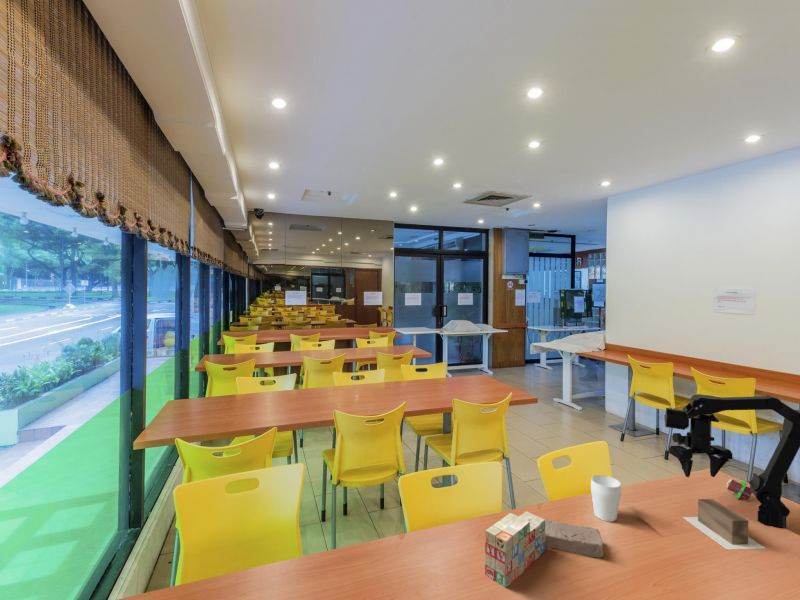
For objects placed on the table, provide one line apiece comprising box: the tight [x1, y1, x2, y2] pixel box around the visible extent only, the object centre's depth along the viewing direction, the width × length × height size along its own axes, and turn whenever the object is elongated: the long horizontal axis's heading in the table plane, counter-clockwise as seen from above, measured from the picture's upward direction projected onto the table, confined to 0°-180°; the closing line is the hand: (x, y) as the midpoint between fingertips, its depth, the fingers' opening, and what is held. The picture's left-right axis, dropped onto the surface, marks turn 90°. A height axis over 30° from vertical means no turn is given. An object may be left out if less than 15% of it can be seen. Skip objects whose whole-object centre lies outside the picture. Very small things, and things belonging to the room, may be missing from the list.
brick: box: [545, 519, 604, 559], centre depth 114 cm, size 17×8×5 cm, turn 70°
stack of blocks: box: [484, 510, 546, 589], centre depth 106 cm, size 21×6×12 cm, turn 133°
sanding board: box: [682, 516, 766, 550], centre depth 118 cm, size 12×16×2 cm
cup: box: [590, 474, 622, 523], centre depth 129 cm, size 9×9×12 cm
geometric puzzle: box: [726, 478, 753, 501], centre depth 142 cm, size 7×7×8 cm
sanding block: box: [697, 498, 749, 545], centre depth 118 cm, size 5×12×7 cm, turn 3°
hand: (699, 476), depth 133 cm, fingers open, 9 cm apart
